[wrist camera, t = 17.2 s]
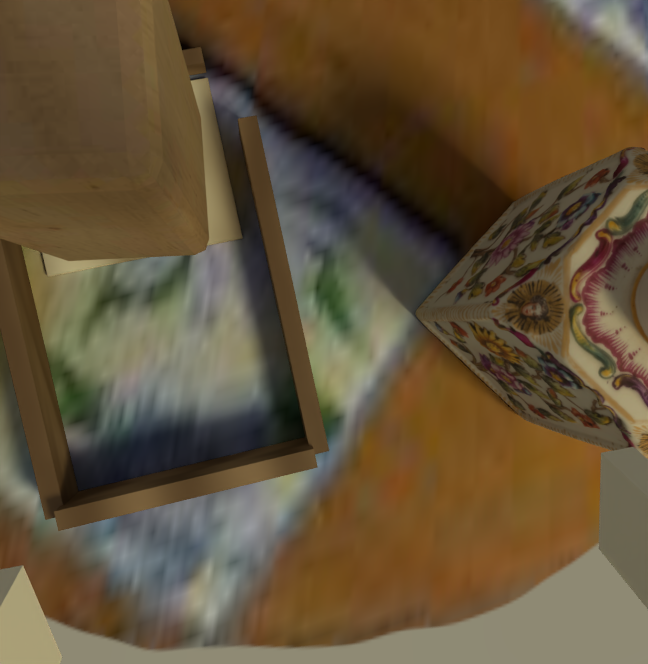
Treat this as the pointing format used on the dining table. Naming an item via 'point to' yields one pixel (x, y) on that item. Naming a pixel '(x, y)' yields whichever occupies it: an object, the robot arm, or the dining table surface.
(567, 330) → the decorative jar
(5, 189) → the wooden block
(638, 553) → the robot arm
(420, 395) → the dining table surface
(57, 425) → the bay
